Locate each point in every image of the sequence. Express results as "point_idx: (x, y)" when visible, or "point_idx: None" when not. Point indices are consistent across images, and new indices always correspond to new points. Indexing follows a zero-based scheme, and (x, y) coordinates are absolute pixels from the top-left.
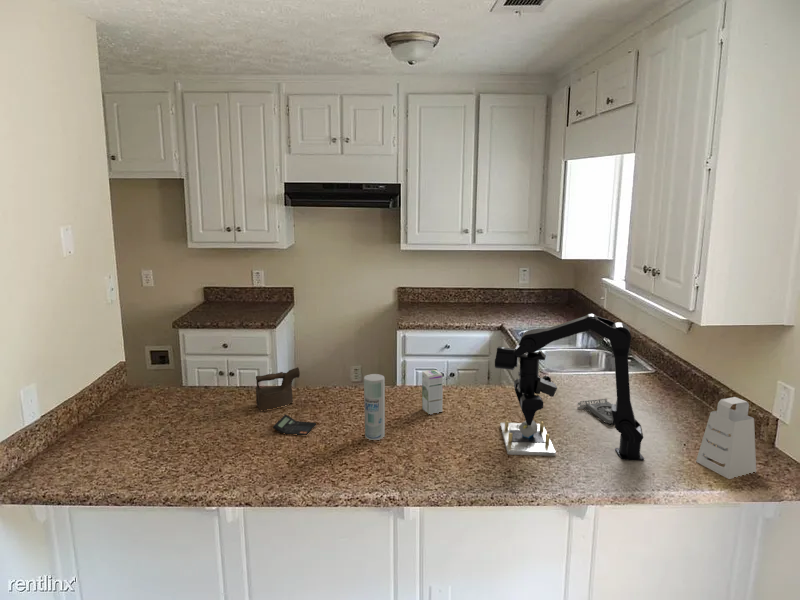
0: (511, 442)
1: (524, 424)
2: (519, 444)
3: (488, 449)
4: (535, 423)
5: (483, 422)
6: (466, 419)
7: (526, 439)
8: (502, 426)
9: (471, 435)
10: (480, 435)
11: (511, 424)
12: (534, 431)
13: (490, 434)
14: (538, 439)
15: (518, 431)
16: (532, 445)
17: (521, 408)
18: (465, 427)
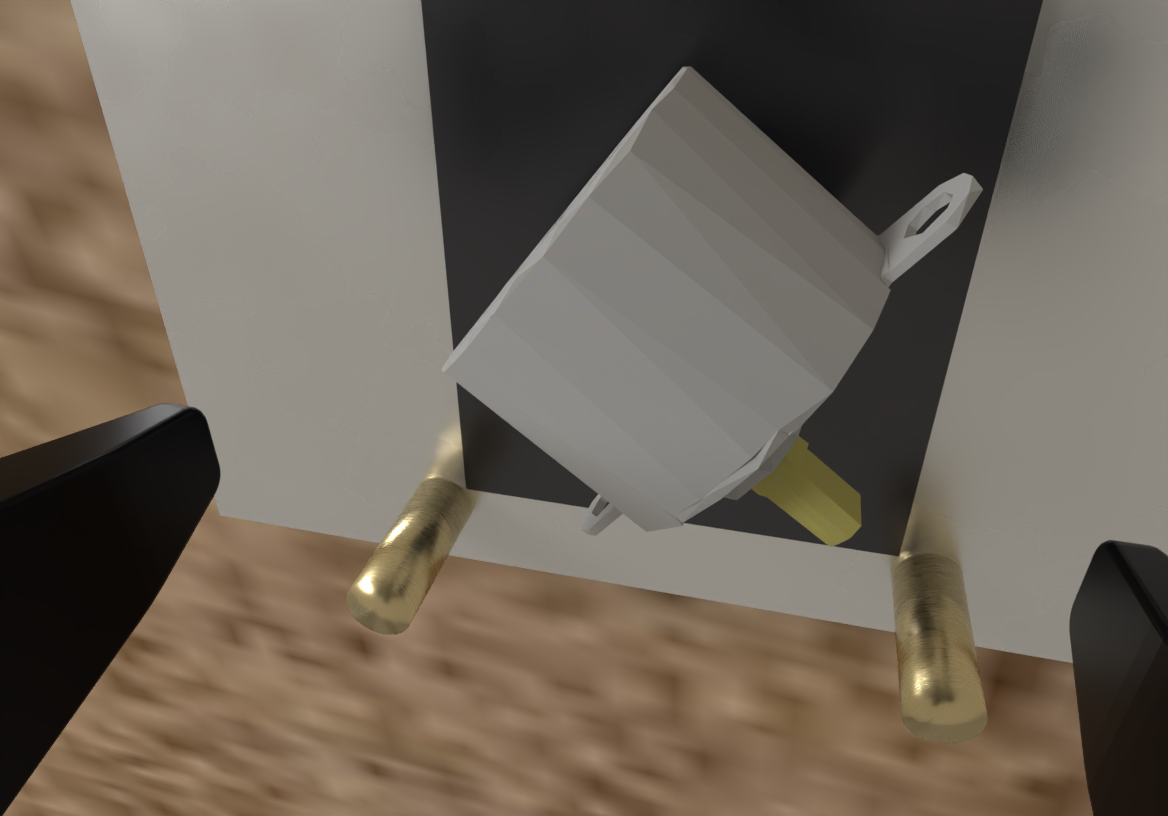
0: (964, 583)
1: (726, 497)
2: (1036, 469)
3: (978, 783)
4: (647, 185)
5: (211, 626)
6: (194, 743)
7: None
8: (346, 526)
9: (580, 812)
10: (572, 744)
11: (236, 385)
12: (819, 186)
13: (532, 650)
14: (884, 36)
15: None
16: (1151, 244)
17: (142, 610)
18: (389, 801)
